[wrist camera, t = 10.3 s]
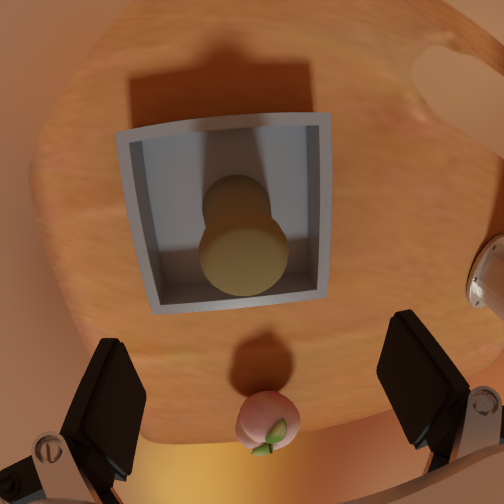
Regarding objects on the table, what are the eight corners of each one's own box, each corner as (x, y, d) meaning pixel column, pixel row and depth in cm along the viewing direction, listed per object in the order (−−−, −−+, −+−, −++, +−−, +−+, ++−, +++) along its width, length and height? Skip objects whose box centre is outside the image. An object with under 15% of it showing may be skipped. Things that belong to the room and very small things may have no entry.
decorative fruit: (282, 411, 40) (293, 465, 31) (230, 410, 39) (234, 466, 30) (301, 373, 37) (318, 433, 27) (241, 371, 35) (247, 436, 26)
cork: (187, 206, 25) (164, 263, 15) (239, 160, 24) (252, 185, 14) (233, 253, 27) (241, 329, 17) (284, 211, 26) (322, 268, 16)
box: (313, 114, 23) (331, 112, 19) (313, 274, 30) (326, 297, 26) (132, 130, 22) (115, 132, 18) (160, 289, 29) (152, 314, 25)
